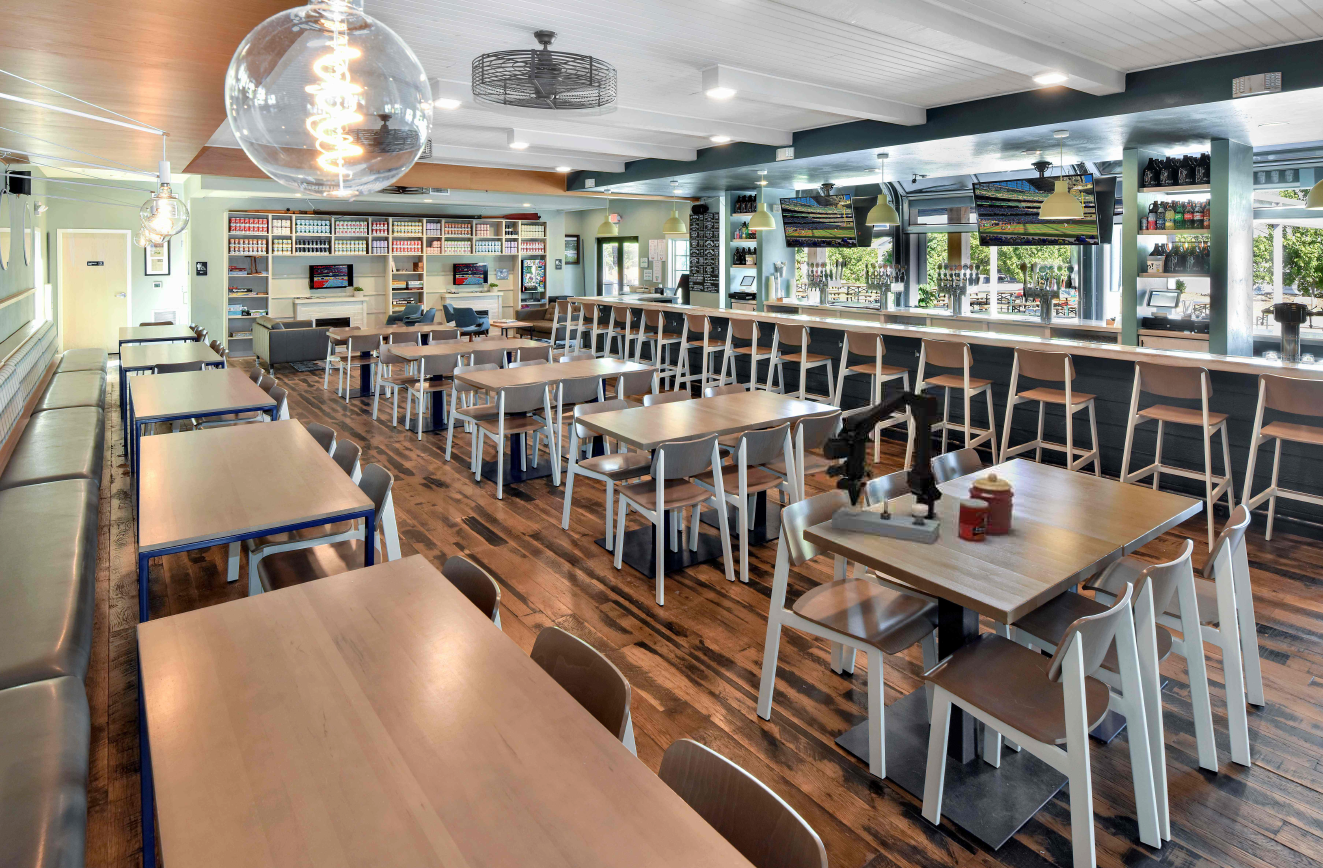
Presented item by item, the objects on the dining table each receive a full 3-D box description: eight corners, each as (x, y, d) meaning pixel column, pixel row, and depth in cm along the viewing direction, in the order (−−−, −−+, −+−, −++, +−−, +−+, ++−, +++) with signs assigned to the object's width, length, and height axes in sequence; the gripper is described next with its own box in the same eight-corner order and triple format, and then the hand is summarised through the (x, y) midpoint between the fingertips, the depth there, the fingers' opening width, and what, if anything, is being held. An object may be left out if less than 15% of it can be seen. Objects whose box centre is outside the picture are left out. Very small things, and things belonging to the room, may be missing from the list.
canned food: (976, 543, 229) (979, 507, 227) (952, 536, 235) (954, 501, 233) (991, 538, 233) (994, 502, 231) (966, 531, 240) (969, 496, 238)
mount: (842, 518, 252) (842, 506, 251) (938, 534, 237) (939, 521, 236) (831, 527, 244) (832, 515, 243) (931, 543, 229) (932, 530, 228)
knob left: (847, 518, 248) (848, 502, 247) (862, 520, 246) (863, 504, 245) (843, 522, 244) (844, 506, 243) (857, 524, 242) (858, 508, 241)
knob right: (912, 519, 238) (914, 502, 237) (928, 521, 235) (929, 505, 234) (909, 523, 234) (910, 506, 233) (925, 525, 231) (926, 508, 230)
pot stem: (881, 516, 242) (882, 499, 241) (891, 517, 240) (892, 500, 239) (879, 518, 239) (880, 501, 238) (888, 520, 238) (890, 502, 236)
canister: (1015, 537, 235) (1020, 480, 231) (969, 534, 237) (974, 477, 234) (1005, 523, 247) (1010, 469, 244) (962, 521, 250) (966, 467, 246)
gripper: (840, 448, 253) (838, 494, 256) (820, 460, 237) (818, 509, 240) (874, 452, 247) (872, 499, 250) (856, 464, 232) (854, 515, 235)
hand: (853, 505), depth 244 cm, fingers closed, pressing on knob left
